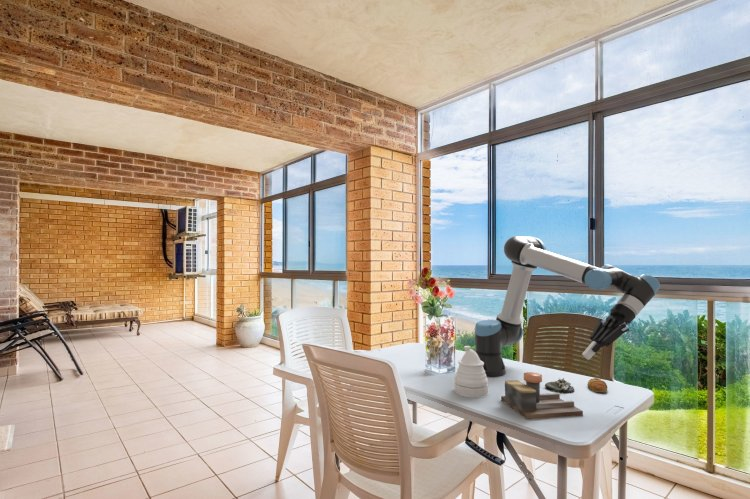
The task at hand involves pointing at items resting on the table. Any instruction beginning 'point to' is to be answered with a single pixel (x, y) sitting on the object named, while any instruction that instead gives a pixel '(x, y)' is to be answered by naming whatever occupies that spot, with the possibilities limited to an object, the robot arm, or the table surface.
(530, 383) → the knob
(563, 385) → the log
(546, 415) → the brown sliding knob board
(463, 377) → the honey pot
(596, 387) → the pastry
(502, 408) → the table surface
